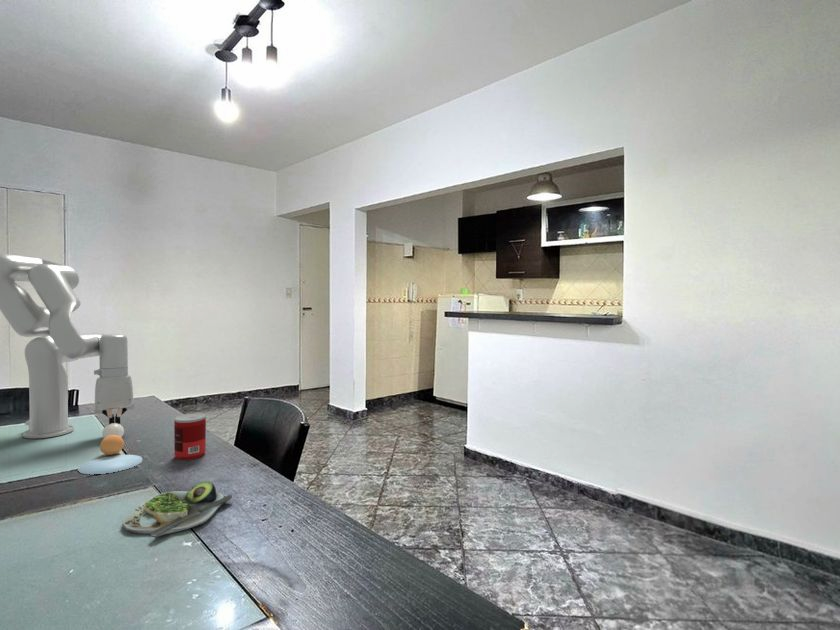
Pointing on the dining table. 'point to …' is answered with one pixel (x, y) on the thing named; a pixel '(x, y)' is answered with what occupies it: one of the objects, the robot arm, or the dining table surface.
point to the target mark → (110, 464)
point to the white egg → (113, 430)
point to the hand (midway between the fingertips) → (114, 428)
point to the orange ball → (111, 444)
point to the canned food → (190, 436)
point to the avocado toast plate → (177, 510)
